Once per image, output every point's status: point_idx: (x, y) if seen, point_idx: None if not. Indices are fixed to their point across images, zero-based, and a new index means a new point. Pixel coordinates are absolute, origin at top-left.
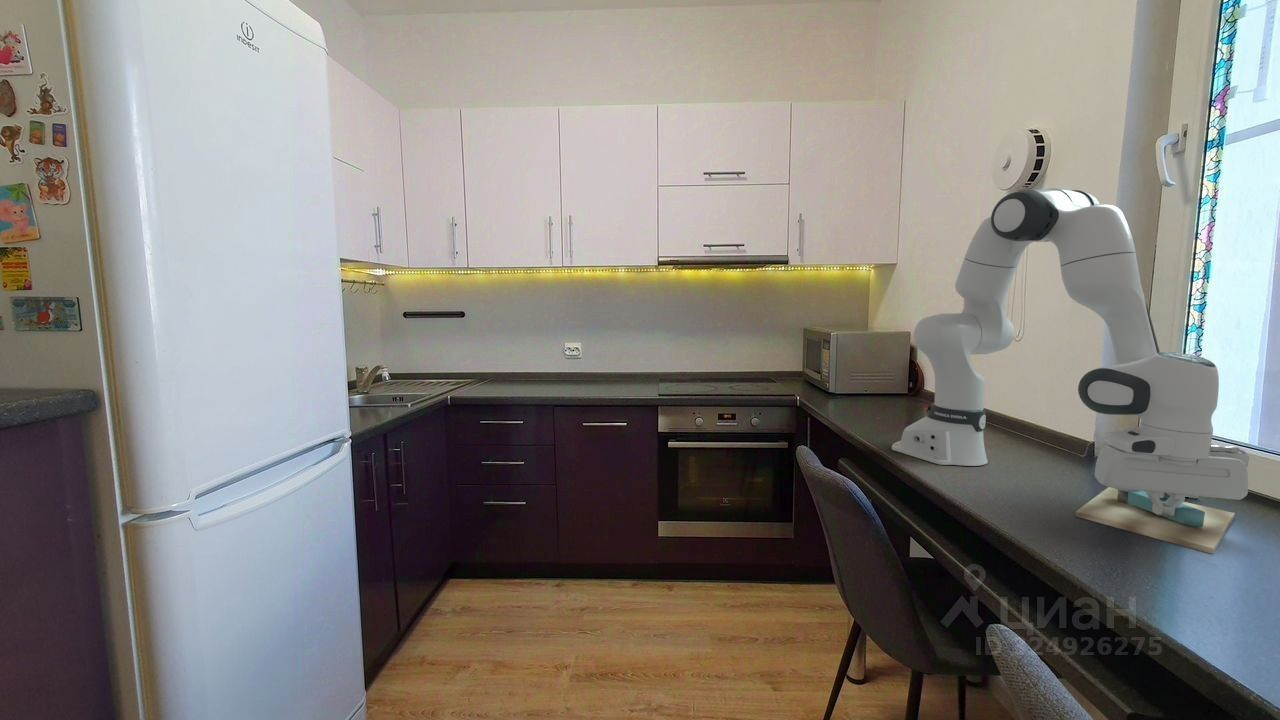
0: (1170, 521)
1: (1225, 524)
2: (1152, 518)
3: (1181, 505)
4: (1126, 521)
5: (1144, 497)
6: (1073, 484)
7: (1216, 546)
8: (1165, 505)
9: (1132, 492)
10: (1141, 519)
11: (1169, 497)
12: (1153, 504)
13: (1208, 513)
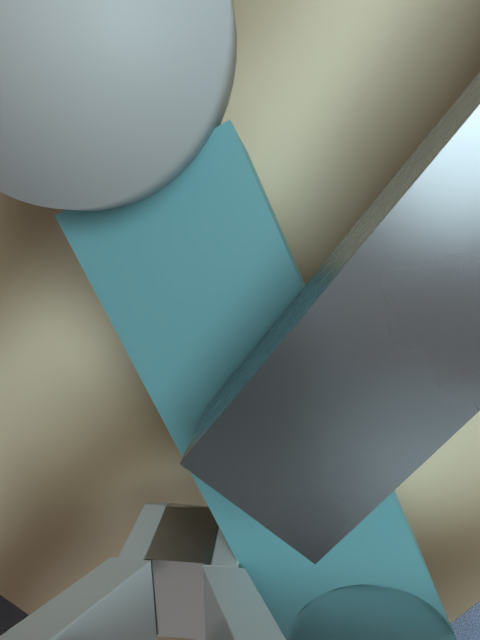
0: None
1: None
2: (178, 455)
3: (356, 560)
4: (2, 540)
5: (141, 374)
6: None
7: None
8: (189, 605)
9: (77, 257)
10: (100, 489)
11: (234, 635)
12: (126, 549)
13: None
